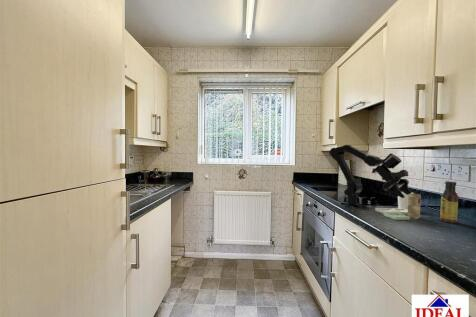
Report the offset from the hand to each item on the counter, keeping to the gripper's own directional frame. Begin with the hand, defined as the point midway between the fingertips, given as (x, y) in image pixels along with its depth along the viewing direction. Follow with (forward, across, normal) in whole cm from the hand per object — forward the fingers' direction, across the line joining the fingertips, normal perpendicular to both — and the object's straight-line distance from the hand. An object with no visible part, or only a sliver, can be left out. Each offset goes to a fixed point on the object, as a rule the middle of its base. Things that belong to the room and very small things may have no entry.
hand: (407, 196), depth 125 cm
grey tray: (+4, +5, +10) cm, 12 cm away
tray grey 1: (+1, -2, +13) cm, 14 cm away
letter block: (+9, 0, +5) cm, 11 cm away
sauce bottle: (+18, +7, -3) cm, 19 cm away
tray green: (+6, -9, +8) cm, 14 cm away
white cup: (+2, +16, +12) cm, 21 cm away
